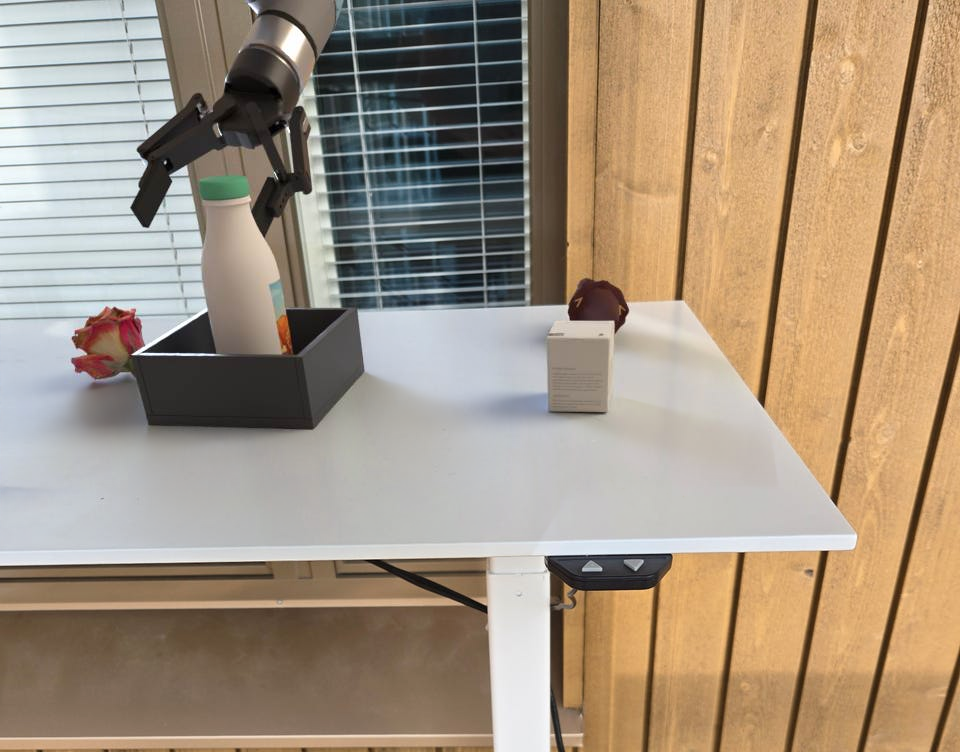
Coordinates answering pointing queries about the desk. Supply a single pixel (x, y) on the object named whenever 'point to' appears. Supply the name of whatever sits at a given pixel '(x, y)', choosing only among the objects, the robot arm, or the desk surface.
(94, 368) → the flower
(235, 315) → the milk bottle
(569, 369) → the white cardboard box
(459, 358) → the desk surface
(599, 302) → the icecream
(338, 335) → the black open box
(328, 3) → the robot arm
